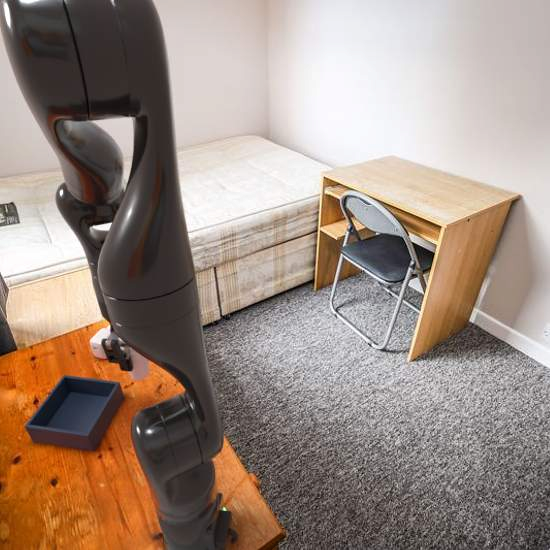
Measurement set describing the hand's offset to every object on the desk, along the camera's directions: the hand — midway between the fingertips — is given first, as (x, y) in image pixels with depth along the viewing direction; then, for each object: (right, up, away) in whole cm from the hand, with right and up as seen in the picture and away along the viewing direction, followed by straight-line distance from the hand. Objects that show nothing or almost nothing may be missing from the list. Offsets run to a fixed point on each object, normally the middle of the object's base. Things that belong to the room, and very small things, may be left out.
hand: (135, 356), depth 76 cm
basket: (-14, -15, +6) cm, 21 cm away
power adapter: (-15, -2, +25) cm, 29 cm away
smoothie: (0, -4, +3) cm, 5 cm away
